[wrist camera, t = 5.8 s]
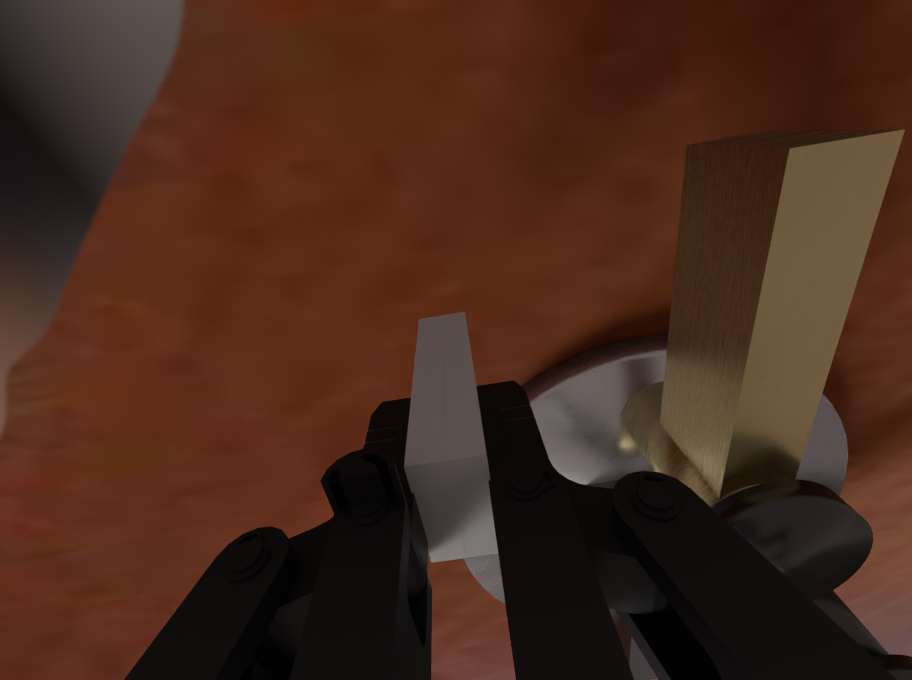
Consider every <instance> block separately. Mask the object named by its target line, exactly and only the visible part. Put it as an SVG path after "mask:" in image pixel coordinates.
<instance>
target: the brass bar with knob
mask: <svg viewBox="0 0 912 680" xmlns="http://www.w3.org/2000/svg"><path fill="white" fill-rule="evenodd" d="M904 131H905V129H888V130H820V131H766V132H760V133H754V134H748V135H742V136H736V137H730V138H724V139H718V140H713V141H707V142H701V143H695V144H689V145H686V155H685V166H684V176H683V186H682V197H681V207H680V218H679V228H678V239H677V249H676V259H675V270H674V280H673V291H672V301H671V312H670V322H669V332H668V343H667V353H666V364H665V374H664V381H662V382H658V383H654V384H652V385H649V386H647V387H645V388H643V389H642V390H641V391H639V392H638V393H637V394H635V395H634V396H633V397H632V399H631V400H630V401H629V402H628V404H627V406H626V408H625V410H624V414H623V423H624V427H625V429H626V430H627V432H628V433H629V435H630V437H631V438H632V440H633V441H634V443H635V444H636V446H637V447H638V449H639V451H640V452H641V454H642V455H643V457H644V458H645V460H646V462H647V463H648V465H649V466H650V468H651V469H652V471H653V472H660V473H663V474H666V475H668V476H671V477H674V478H676V479H678V480H679V481H681V482H682V483H684V484H685V485H686V486H688V487H689V488H691V489H692V490H693V491H694V492H695V493H696V494H697V495H698V496H699V497H700V498H701V499H703V500H704V501H705V502H706V503H707V504H708V505H709V506H710V507H711V508H712V509H713V510H714V511H715V512H717V513H718V514H719V515H720V516H721V517H722V518H723V519H724V520H725V521H726V522H727V523H728V524H730V525H731V526H732V527H733V528H734V529H735V530H736V531H737V532H738V533H739V534H740V535H741V536H742V537H744V538H745V539H746V540H747V541H748V542H749V543H750V544H751V545H752V546H753V547H754V548H755V549H756V550H758V551H759V552H760V553H761V554H762V555H763V556H764V557H765V558H766V559H767V560H768V561H769V562H771V563H772V564H773V565H774V566H775V567H776V568H777V569H778V570H779V571H780V572H781V573H782V574H783V575H785V576H786V577H787V578H788V579H789V580H790V581H791V582H792V583H793V584H794V585H795V586H796V587H797V588H799V589H800V590H801V591H802V592H803V593H804V594H805V595H806V596H807V597H808V598H809V599H810V600H812V601H813V600H815V599H817V598H820V597H821V596H823V595H825V594H827V593H829V592H831V591H832V590H834V589H835V588H837V587H838V586H840V585H841V584H843V583H844V582H845V581H847V580H848V579H849V578H850V577H851V576H852V575H853V574H854V573H855V572H856V571H857V570H858V569H859V568H860V567H861V566H862V564H863V563H864V562H865V560H866V559H867V557H868V555H869V553H870V551H871V548H872V543H873V533H872V530H871V527H870V525H869V524H868V522H867V521H866V520H865V519H864V518H863V517H862V516H860V515H859V514H858V513H857V512H856V511H855V510H854V509H853V508H852V507H850V506H849V505H848V504H847V503H846V502H845V501H844V500H843V499H841V498H840V497H839V496H838V495H837V494H836V493H835V492H834V491H833V490H831V489H830V488H828V487H826V486H825V485H822V484H819V483H817V482H812V481H808V480H795V479H796V476H797V472H798V469H799V466H800V463H801V460H802V456H803V453H804V450H805V447H806V444H807V440H808V437H809V434H810V431H811V428H812V425H813V421H814V418H815V415H816V412H817V409H818V405H819V402H820V399H821V396H822V393H823V389H824V386H825V383H826V380H827V377H828V373H829V370H830V367H831V364H832V361H833V358H834V354H835V351H836V348H837V345H838V342H839V338H840V335H841V332H842V329H843V326H844V322H845V319H846V316H847V313H848V310H849V306H850V303H851V300H852V297H853V294H854V291H855V287H856V284H857V281H858V278H859V275H860V271H861V268H862V265H863V262H864V259H865V255H866V252H867V249H868V246H869V243H870V240H871V236H872V233H873V230H874V227H875V224H876V220H877V217H878V214H879V211H880V208H881V204H882V201H883V198H884V195H885V192H886V188H887V185H888V182H889V179H890V176H891V173H892V169H893V166H894V163H895V160H896V157H897V153H898V150H899V147H900V144H901V141H902V137H903V134H904Z"/></svg>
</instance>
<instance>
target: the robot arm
mask: <svg viewBox="0 0 912 680" xmlns="http://www.w3.org/2000/svg"><path fill="white" fill-rule="evenodd" d="M321 484H322V486H323V488H324V491H325V493H326V495H327V498H328V500H329V502H330V505H331V507H332V510H333V512H334V516H333V517H332V518H331V519H330V520H328V521H327V522H325V523H323V524H321V525H319V526H317V527H315V528H313V529H310V530H308V531H306V532H303V533H301V534H299V535H296V536H294V537H292V538H289V539H288V537H287V536H286V535H285V533H284V532H283V531H282V530H281V529H278V528H274V527H263V528H257V529H254V530H252V531H250V532H247V533H245V534H243V535H241V536H240V537H238V538H237V539H235V540H234V541H232V542H231V543H230V544H228V545H227V546H226V547H225V548H224V550H223V551H222V552H221V553H220V554H219V555H218V556H217V557H216V558H215V559H214V561H213V562H212V563H211V565H210V566H209V567H208V569H207V570H206V571H205V573H204V574H203V575H202V577H201V578H200V579H199V581H198V582H197V583H196V585H195V586H194V587H193V589H192V590H191V591H190V593H189V594H188V595H187V597H186V598H185V599H184V601H183V602H182V603H181V605H180V606H179V607H178V609H177V610H176V611H175V613H174V614H173V615H172V617H171V618H170V619H169V621H168V622H167V623H166V625H165V626H164V627H163V629H162V630H161V631H160V633H159V634H158V635H157V637H156V638H155V639H154V641H153V642H152V643H151V645H150V646H149V647H148V649H147V650H146V651H145V653H144V654H143V655H142V657H141V658H140V659H139V661H138V662H137V663H136V665H135V666H134V667H133V669H132V670H131V671H130V673H129V674H128V675H127V677H126V678H125V679H124V680H431V632H432V588H431V583H430V578H429V575H428V572H427V563H428V552H429V555H430V559H431V562H439V561H447V560H454V559H461V558H468V557H475V556H483V555H490V554H497V553H498V555H499V562H500V569H501V576H502V583H503V590H504V597H505V604H506V611H507V618H508V625H509V633H510V640H511V647H512V654H513V661H514V668H515V675H516V680H634V677H633V675H632V672H631V669H630V666H629V664H628V661H627V658H626V655H625V652H624V650H623V647H622V644H621V641H620V638H619V636H618V633H617V630H616V627H615V625H614V622H613V619H612V616H611V613H610V611H609V609H613V610H616V612H617V614H618V616H619V617H620V619H621V620H622V622H623V624H624V625H625V627H626V628H627V630H628V632H629V633H630V635H631V636H632V638H633V640H634V641H635V643H636V644H637V646H638V648H639V649H640V651H641V652H642V654H643V656H644V657H645V659H646V660H647V662H648V664H649V665H650V667H651V668H652V670H653V672H654V673H655V675H656V676H657V678H658V680H897V679H896V678H895V677H893V676H892V675H891V674H890V673H889V672H888V671H887V670H886V669H885V668H884V667H883V666H882V665H881V664H879V663H878V662H877V661H876V660H875V659H874V658H873V657H872V656H871V655H870V654H869V653H868V652H867V651H865V650H864V649H863V648H862V647H861V646H860V645H859V644H858V643H857V642H856V641H855V640H854V639H852V638H851V637H850V636H849V635H848V634H847V633H846V632H845V631H844V630H843V629H842V628H841V627H840V626H838V625H837V624H836V623H835V622H834V621H833V620H832V619H831V618H830V617H829V616H828V615H827V614H826V613H824V612H823V611H822V610H821V609H820V608H819V607H818V606H817V605H816V604H815V603H814V602H813V601H812V600H810V599H809V598H808V597H807V596H806V595H805V594H804V593H803V592H802V591H801V590H800V589H799V588H797V587H796V586H795V585H794V584H793V583H792V582H791V581H790V580H789V579H788V578H787V577H786V576H785V575H783V574H782V573H781V572H780V571H779V570H778V569H777V568H776V567H775V566H774V565H773V564H772V563H771V562H769V561H768V560H767V559H766V558H765V557H764V556H763V555H762V554H761V553H760V552H759V551H758V550H756V549H755V548H754V547H753V546H752V545H751V544H750V543H749V542H748V541H747V540H746V539H745V538H744V537H742V536H741V535H740V534H739V533H738V532H737V531H736V530H735V529H734V528H733V527H732V526H731V525H730V524H728V523H727V522H726V521H725V520H724V519H723V518H722V517H721V516H720V515H719V514H718V513H717V512H715V511H714V510H713V509H712V508H711V507H710V506H709V505H708V504H707V503H706V502H705V501H704V500H703V499H701V498H700V497H699V496H698V495H697V494H696V493H695V492H694V491H693V490H692V489H691V488H689V487H688V486H686V485H685V484H684V483H682V482H681V481H679V480H678V479H676V478H674V477H671V476H668V475H666V474H663V473H660V472H652V471H639V472H633V473H629V474H627V475H625V476H624V477H622V478H620V479H619V480H618V481H617V483H616V485H615V486H614V488H613V489H611V488H603V487H595V486H588V485H584V484H579V483H576V482H574V481H572V480H569V479H567V478H566V477H564V476H563V475H561V474H560V473H559V472H558V471H557V470H556V469H555V468H554V467H553V465H552V464H551V462H550V460H549V457H548V454H547V451H546V448H545V445H544V443H543V440H542V437H541V434H540V431H539V428H538V425H537V422H536V419H535V417H534V414H533V411H532V408H531V406H530V402H529V399H528V396H527V393H526V390H524V389H523V388H522V387H521V386H520V385H518V384H517V383H516V382H515V381H507V382H501V383H494V384H488V385H481V386H476V380H475V373H474V367H473V361H472V355H471V348H470V342H469V336H468V329H467V323H466V317H465V312H461V313H454V314H448V315H442V316H436V317H429V318H423V319H419V325H418V335H417V345H416V355H415V364H414V374H413V384H412V393H411V398H406V399H399V400H393V401H386V402H382V403H381V404H380V405H379V406H378V408H377V409H376V410H375V411H374V413H373V414H372V415H371V419H370V423H369V427H368V432H367V436H366V440H365V444H364V448H363V449H362V450H358V451H355V452H351V453H349V454H347V455H345V456H343V457H342V458H340V459H338V460H337V461H336V462H334V463H333V464H332V465H331V466H330V467H329V468H328V469H327V470H326V472H325V474H324V475H323V477H322V479H321Z"/></svg>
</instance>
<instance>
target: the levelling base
mask: <svg viewBox="0 0 912 680" xmlns="http://www.w3.org/2000/svg"><path fill="white" fill-rule="evenodd" d="M667 343H668V334H662V335H652V336H642V337H637V338H632V339H628V340H623V341H618V342H613V343H610V344H607V345H604V346H601V347H598V348H595V349H592V350H589V351H586V352H584V353H581V354H579V355H577V356H575V357H572V358H570V359H568V360H566V361H564V362H561V363H559V364H557V365H556V366H554V367H552V368H551V369H549V370H547V371H545V372H544V373H542V374H540V375H539V376H537V377H535V378H534V379H532V380H531V381H530V382H528V383H527V384H526V385H524V386H523V387H522V388H523V389H524V390H526V393H527V396H528V399H529V402H530V406H531V408H532V411H533V414H534V417H535V419H536V422H537V425H538V428H539V431H540V434H541V437H542V440H543V443H544V445H545V448H546V451H547V454H548V457H549V460H550V462H551V464H552V465H553V467H554V468H555V469H556V470H557V471H558V472H559V473H560V474H561V475H563V476H564V477H566V478H567V479H569V480H572V481H574V482H576V483H579V484H584V485H588V486H595V487H603V488H611V489H613V488H614V486H615V485H616V483H617V481H618V480H619V479H620V478H622V477H624V476H625V475H627V474H629V473H633V472H639V471H652V469H651V468H650V466H649V465H648V463H647V462H646V460H645V458H644V457H643V455H642V454H641V452H640V451H639V449H638V447H637V446H636V444H635V443H634V441H633V440H632V438H631V437H630V435H629V433H628V432H627V430H626V429H625V427H624V423H623V414H624V410H625V408H626V406H627V404H628V402H629V401H630V400H631V399H632V397H633V396H634V395H635V394H637V393H638V392H639V391H641V390H642V389H643V388H645V387H647V386H649V385H652V384H654V383H658V382H662V381H664V374H665V364H666V353H667ZM847 463H848V447H847V437H846V434H845V431H844V427H843V424H842V421H841V419H840V417H839V415H838V414H837V412H836V410H835V409H834V407H833V405H832V404H831V402H830V401H829V400H828V399H827V398H826V397H825V396H824V395H823V394H822V396H821V399H820V402H819V405H818V409H817V412H816V415H815V418H814V421H813V425H812V428H811V431H810V434H809V437H808V440H807V444H806V447H805V450H804V453H803V456H802V460H801V463H800V466H799V469H798V472H797V476H796V479H795V480H808V481H812V482H817V483H819V484H822V485H825V486H826V487H828V488H830V489H831V490H833V491H834V492H835V493H836V494H837V495H838V496H839V495H840V493H841V490H842V487H843V483H844V480H845V477H846V472H847ZM652 472H653V471H652ZM464 560H465V562H466V564H467V566H468V568H469V569H470V571H471V573H472V575H473V576H474V577H475V578H476V580H477V581H478V582H479V583H480V584H481V586H482V587H483V588H484V589H486V590H487V591H488V592H489V593H490V594H491V595H492V596H494V597H495V598H496V599H498V600H499V601H501V602H502V603H504V604H505V597H504V590H503V583H502V576H501V569H500V562H499V555H498V553H497V554H490V555H483V556H475V557H468V558H464ZM813 602H814V603H815V604H816V605H817V606H818V607H819V608H820V609H821V610H822V611H823V612H824V613H826V614H827V615H828V616H829V617H830V618H831V619H832V620H833V621H834V622H835V623H836V624H837V625H838V626H840V627H841V628H842V629H843V630H844V631H845V632H846V633H847V634H848V635H849V636H850V637H851V638H852V639H854V640H855V641H856V642H857V643H858V644H859V645H860V646H861V647H862V648H863V649H864V650H865V651H867V652H868V653H869V654H870V655H871V656H872V657H873V658H874V659H875V660H876V661H877V662H878V663H879V664H881V665H882V666H883V667H884V668H885V669H886V670H887V671H888V672H889V673H890V674H891V675H892V676H893V677H895V678H896V679H897V680H912V657H910V656H905V655H889V654H888V653H887V652H886V651H885V649H884V648H883V647H882V646H881V645H880V644H879V643H878V641H877V640H876V639H875V638H874V637H873V636H872V635H871V633H870V632H869V631H868V630H867V629H866V628H865V626H864V625H863V624H862V623H861V622H860V621H859V620H858V618H857V617H856V616H855V615H854V614H853V613H852V612H851V610H850V609H849V608H848V607H847V606H846V605H845V603H844V602H843V601H842V600H841V599H840V598H839V597H838V595H837V594H836V593H835V592H834V591H833V590H832V591H831V592H829V593H827V594H825V595H823V596H821V597H820V598H817V599H815V600H813ZM505 605H506V604H505ZM609 611H610V613H611V616H612V619H613V622H614V625H615V627H616V630H617V633H618V636H619V638H620V641H621V644H622V647H623V650H624V652H625V655H626V658H627V661H628V664H629V666H630V669H631V672H632V675H633V677H634V680H648V679H656V678H657V676H656V675H655V673H654V672H653V670H652V668H651V667H650V665H649V664H648V662H647V660H646V659H645V657H644V656H643V654H642V652H641V651H640V649H639V648H638V646H637V644H636V643H635V641H634V640H633V638H632V636H631V635H630V633H629V632H628V630H627V628H626V627H625V625H624V624H623V622H622V620H621V619H620V617H619V616H618V614H617V612H616V610H613V609H609Z"/></svg>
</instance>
